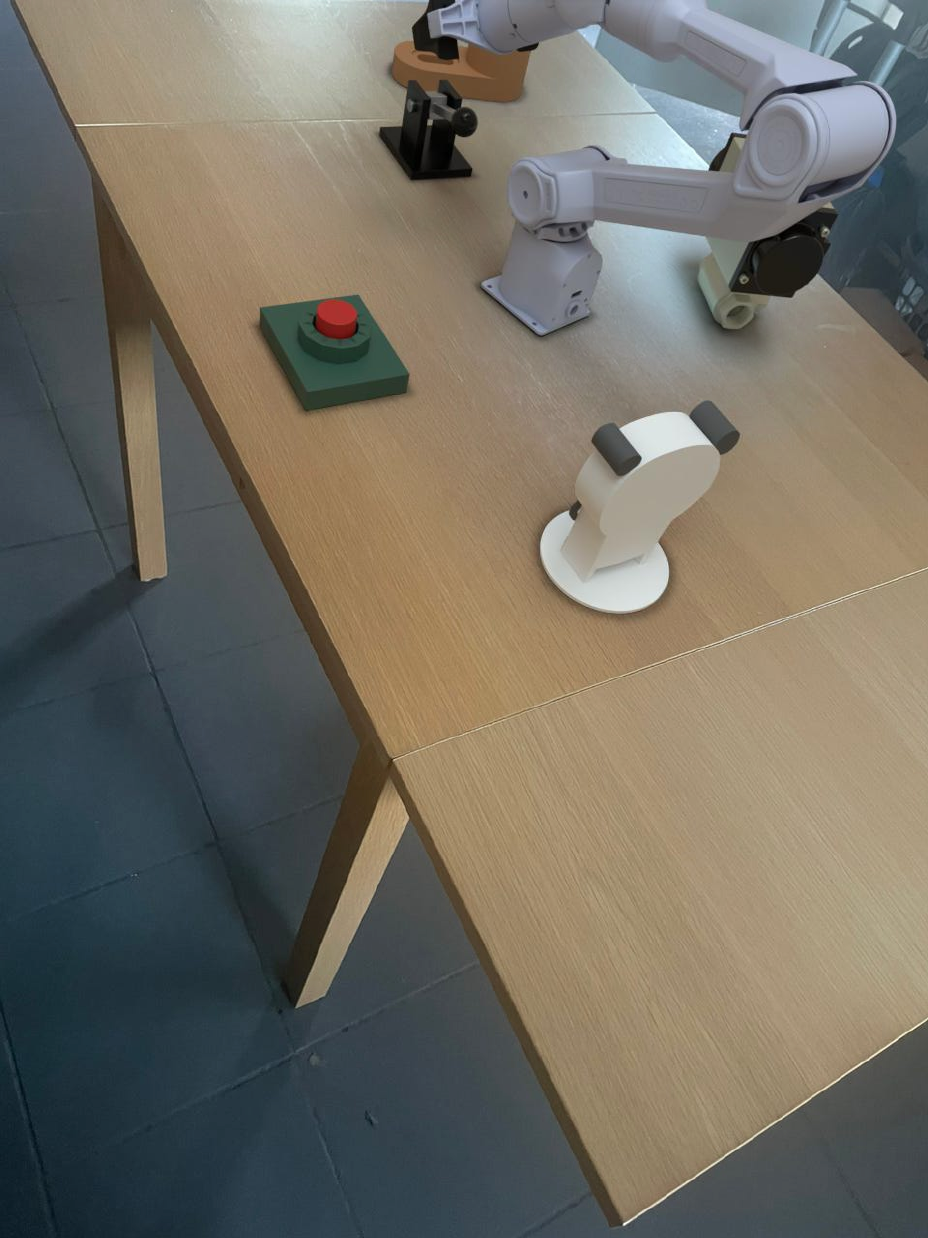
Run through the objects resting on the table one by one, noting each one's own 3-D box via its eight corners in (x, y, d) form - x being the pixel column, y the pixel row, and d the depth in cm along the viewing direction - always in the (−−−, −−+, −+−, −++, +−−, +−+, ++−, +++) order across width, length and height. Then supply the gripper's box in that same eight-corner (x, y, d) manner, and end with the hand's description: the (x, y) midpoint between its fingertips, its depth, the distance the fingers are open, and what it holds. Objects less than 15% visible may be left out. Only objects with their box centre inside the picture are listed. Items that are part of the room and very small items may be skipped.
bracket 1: (513, 74, 130) (525, 20, 124) (526, 104, 125) (539, 50, 120) (387, 59, 125) (394, 2, 119) (396, 89, 120) (404, 32, 115)
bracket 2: (471, 176, 111) (484, 110, 105) (411, 180, 108) (421, 112, 102) (437, 132, 116) (448, 67, 110) (378, 134, 113) (386, 67, 106)
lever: (481, 139, 102) (483, 109, 101) (457, 140, 101) (459, 110, 99) (438, 116, 110) (439, 87, 108) (415, 116, 108) (416, 87, 107)
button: (361, 337, 84) (363, 321, 82) (324, 343, 82) (325, 326, 81) (346, 312, 85) (347, 296, 84) (309, 318, 84) (310, 301, 83)
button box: (406, 392, 86) (412, 358, 83) (305, 410, 82) (308, 375, 79) (356, 312, 91) (360, 277, 88) (259, 326, 87) (260, 290, 84)
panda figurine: (626, 496, 84) (690, 364, 72) (698, 589, 79) (780, 464, 67) (515, 527, 79) (564, 391, 67) (584, 629, 74) (651, 502, 62)
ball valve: (781, 362, 101) (868, 212, 87) (710, 356, 99) (788, 201, 85) (733, 264, 111) (805, 115, 97) (668, 257, 109) (732, 104, 95)
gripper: (587, -50, 85) (497, -16, 95) (461, -44, 78) (379, -9, 89) (593, 39, 88) (506, 62, 99) (473, 52, 81) (393, 76, 92)
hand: (447, 34), depth 94 cm, fingers open, 7 cm apart
